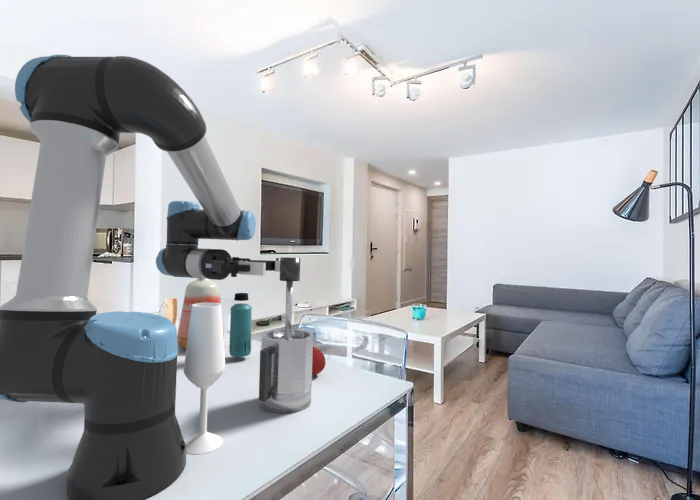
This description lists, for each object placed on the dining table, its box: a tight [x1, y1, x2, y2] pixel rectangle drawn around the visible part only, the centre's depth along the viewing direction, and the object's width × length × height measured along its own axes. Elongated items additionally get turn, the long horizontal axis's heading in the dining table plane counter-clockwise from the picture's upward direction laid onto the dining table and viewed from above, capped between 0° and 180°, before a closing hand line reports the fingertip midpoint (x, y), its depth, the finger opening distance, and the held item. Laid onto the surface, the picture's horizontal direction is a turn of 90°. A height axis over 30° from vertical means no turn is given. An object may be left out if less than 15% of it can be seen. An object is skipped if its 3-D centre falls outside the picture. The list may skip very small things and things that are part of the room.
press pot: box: [258, 328, 314, 414], centre depth 80 cm, size 14×11×15 cm
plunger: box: [277, 256, 301, 340], centre depth 82 cm, size 8×8×19 cm
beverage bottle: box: [228, 292, 253, 358], centre depth 112 cm, size 6×7×20 cm
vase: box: [177, 278, 225, 351], centre depth 123 cm, size 14×14×30 cm
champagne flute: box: [183, 303, 226, 455], centre depth 64 cm, size 7×7×24 cm
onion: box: [312, 345, 326, 377], centre depth 99 cm, size 6×6×8 cm
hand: (282, 268), depth 83 cm, fingers open, 13 cm apart
